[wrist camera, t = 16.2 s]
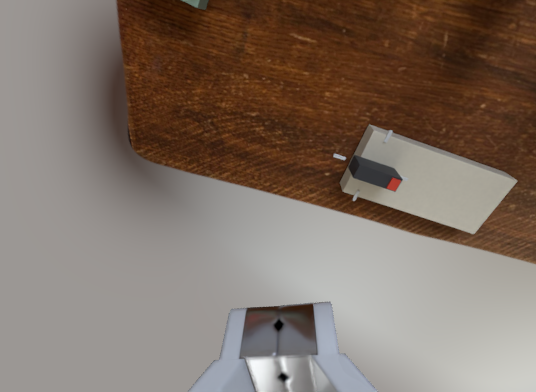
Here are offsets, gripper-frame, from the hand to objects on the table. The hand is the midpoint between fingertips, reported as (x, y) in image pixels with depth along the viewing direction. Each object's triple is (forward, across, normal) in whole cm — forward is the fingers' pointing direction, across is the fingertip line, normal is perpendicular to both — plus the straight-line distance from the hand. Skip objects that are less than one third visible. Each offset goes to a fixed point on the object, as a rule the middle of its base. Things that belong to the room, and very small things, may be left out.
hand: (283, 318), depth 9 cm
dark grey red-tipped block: (+27, -9, +8) cm, 29 cm away
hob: (+29, -14, +11) cm, 34 cm away
